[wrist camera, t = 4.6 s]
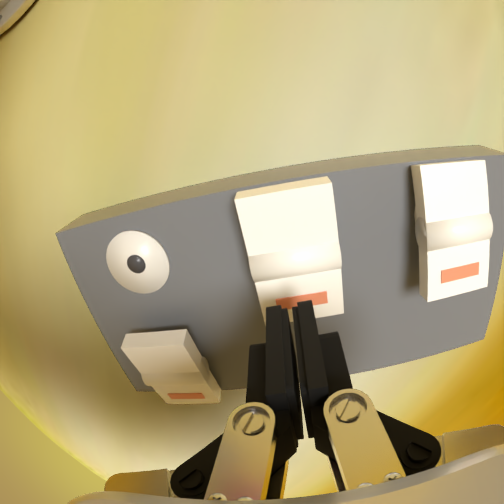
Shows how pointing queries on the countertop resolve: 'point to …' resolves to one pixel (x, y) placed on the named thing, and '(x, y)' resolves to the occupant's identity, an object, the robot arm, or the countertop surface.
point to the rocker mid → (293, 245)
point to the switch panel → (239, 275)
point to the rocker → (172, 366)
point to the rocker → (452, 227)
